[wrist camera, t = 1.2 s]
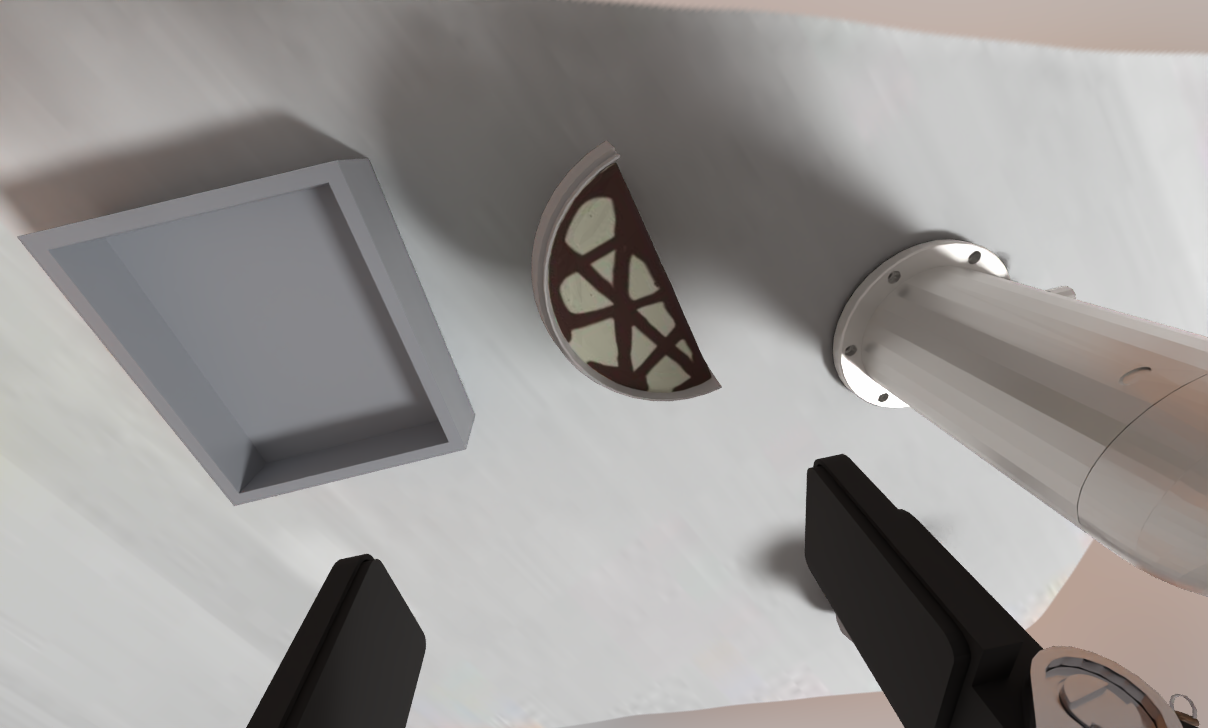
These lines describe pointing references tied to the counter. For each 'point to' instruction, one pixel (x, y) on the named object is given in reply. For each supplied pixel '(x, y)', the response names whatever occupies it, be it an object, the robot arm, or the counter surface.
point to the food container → (612, 289)
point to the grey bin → (270, 327)
